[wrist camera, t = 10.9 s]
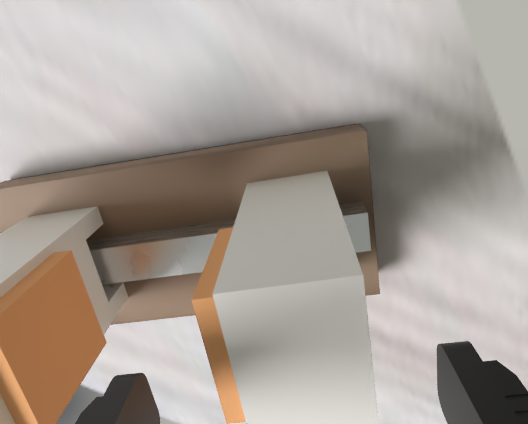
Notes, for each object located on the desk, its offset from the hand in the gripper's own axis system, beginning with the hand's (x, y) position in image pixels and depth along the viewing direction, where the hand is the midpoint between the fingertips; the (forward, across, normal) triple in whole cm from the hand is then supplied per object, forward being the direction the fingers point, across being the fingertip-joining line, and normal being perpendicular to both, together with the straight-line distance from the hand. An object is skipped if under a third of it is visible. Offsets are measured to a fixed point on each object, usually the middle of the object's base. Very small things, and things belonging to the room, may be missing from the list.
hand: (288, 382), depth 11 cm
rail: (+13, +6, 0) cm, 14 cm away
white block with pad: (+11, 0, 0) cm, 11 cm away
